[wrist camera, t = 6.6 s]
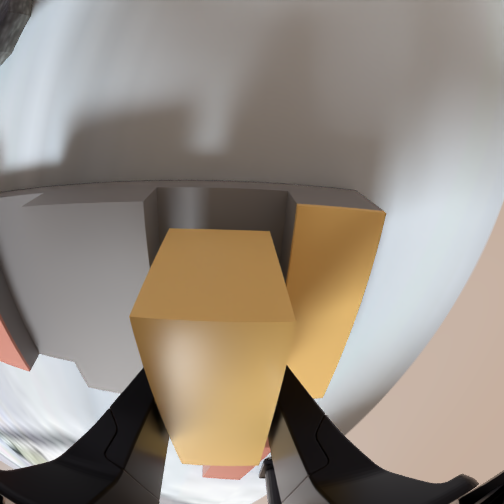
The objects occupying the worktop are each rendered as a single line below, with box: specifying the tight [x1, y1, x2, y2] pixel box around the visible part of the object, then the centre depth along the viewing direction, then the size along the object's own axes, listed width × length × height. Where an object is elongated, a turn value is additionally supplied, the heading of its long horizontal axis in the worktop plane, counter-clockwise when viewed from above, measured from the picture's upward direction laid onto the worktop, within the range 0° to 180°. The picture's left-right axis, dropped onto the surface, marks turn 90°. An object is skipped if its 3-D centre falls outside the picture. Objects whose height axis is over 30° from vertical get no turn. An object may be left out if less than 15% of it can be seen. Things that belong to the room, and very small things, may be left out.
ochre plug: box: [129, 228, 296, 466], centre depth 9 cm, size 9×3×4 cm, turn 176°
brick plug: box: [203, 437, 271, 480], centre depth 16 cm, size 9×3×4 cm, turn 163°
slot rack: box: [0, 180, 386, 399], centre depth 11 cm, size 10×20×3 cm, turn 86°
